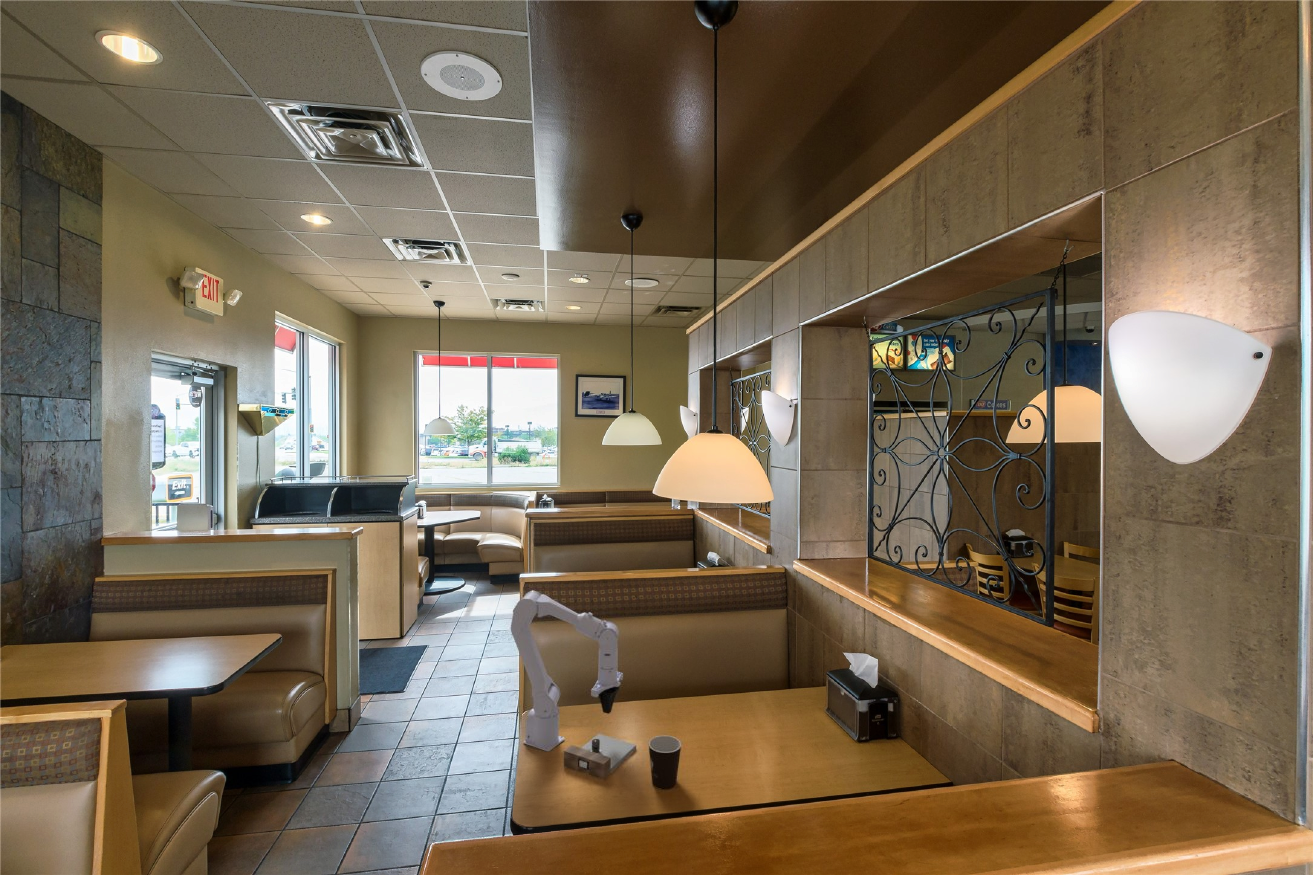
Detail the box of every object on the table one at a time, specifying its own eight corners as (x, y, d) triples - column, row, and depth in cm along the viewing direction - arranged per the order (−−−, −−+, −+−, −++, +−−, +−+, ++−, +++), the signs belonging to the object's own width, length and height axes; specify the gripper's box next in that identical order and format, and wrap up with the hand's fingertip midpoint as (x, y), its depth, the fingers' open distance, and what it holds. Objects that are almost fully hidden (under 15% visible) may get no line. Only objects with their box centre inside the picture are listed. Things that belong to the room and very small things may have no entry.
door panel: (571, 760, 156) (571, 748, 156) (598, 737, 169) (598, 726, 169) (610, 773, 150) (610, 761, 150) (636, 748, 163) (636, 737, 163)
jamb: (563, 766, 153) (563, 750, 153) (571, 760, 156) (571, 744, 156) (603, 779, 147) (603, 763, 147) (610, 773, 150) (610, 757, 150)
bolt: (579, 766, 151) (579, 749, 151) (594, 753, 157) (594, 737, 157) (586, 768, 149) (587, 752, 150) (601, 755, 156) (601, 740, 156)
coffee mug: (677, 794, 142) (678, 754, 142) (644, 789, 143) (645, 750, 143) (684, 768, 153) (685, 731, 153) (653, 764, 155) (654, 728, 155)
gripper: (606, 677, 157) (605, 725, 157) (631, 660, 170) (630, 705, 170) (585, 672, 160) (584, 719, 160) (612, 656, 173) (611, 700, 173)
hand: (606, 712), depth 165 cm, fingers closed
